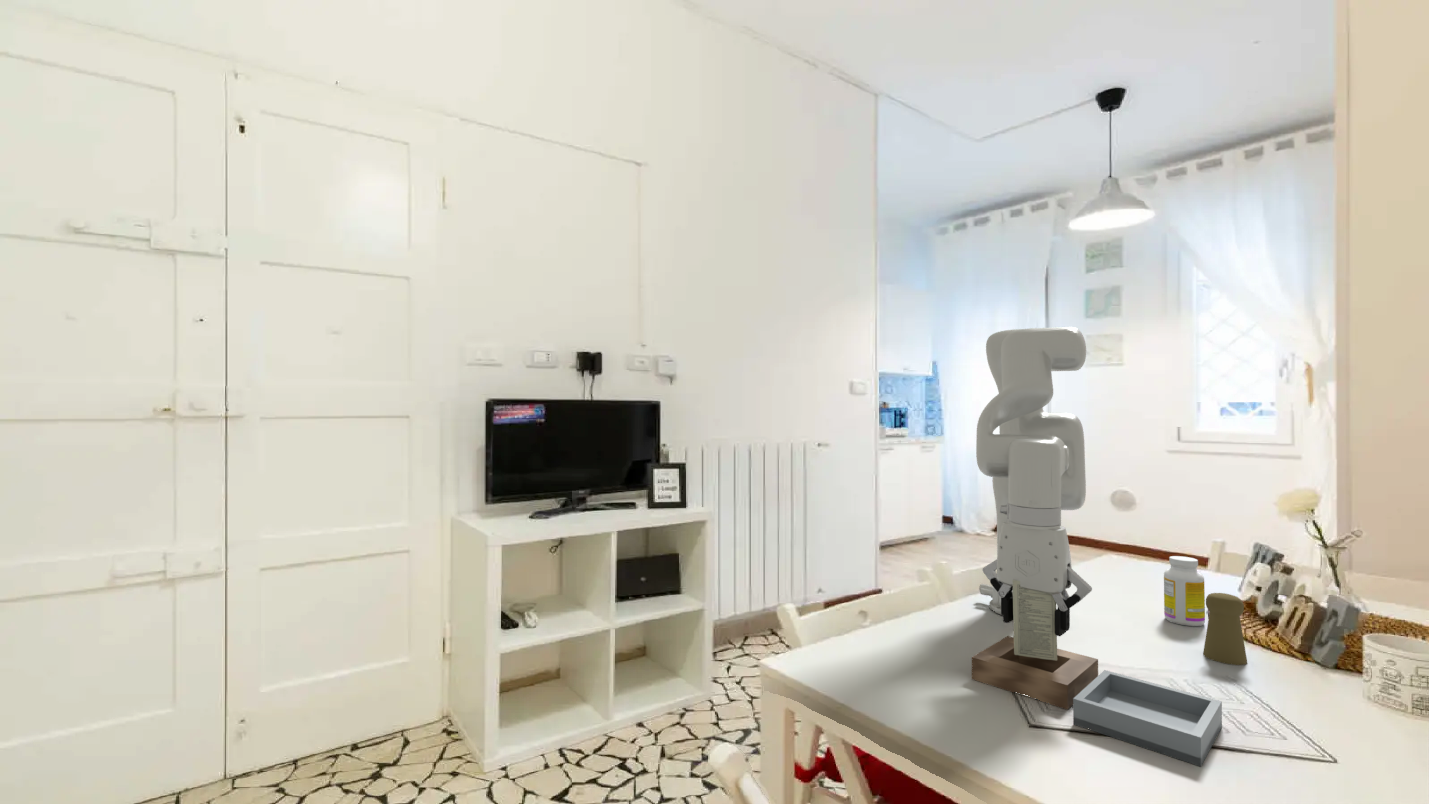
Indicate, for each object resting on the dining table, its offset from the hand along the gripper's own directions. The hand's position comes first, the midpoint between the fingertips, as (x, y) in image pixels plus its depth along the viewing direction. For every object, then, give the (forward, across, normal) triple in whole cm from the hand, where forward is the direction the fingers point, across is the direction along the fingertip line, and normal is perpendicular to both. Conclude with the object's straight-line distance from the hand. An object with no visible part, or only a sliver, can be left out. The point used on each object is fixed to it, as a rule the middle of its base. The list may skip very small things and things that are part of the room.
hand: (1034, 626), depth 101 cm
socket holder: (+8, 0, -1) cm, 8 cm away
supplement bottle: (+9, +10, +51) cm, 53 cm away
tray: (+8, +16, -5) cm, 19 cm away
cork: (+9, +19, +33) cm, 40 cm away
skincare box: (+5, 0, 0) cm, 5 cm away
